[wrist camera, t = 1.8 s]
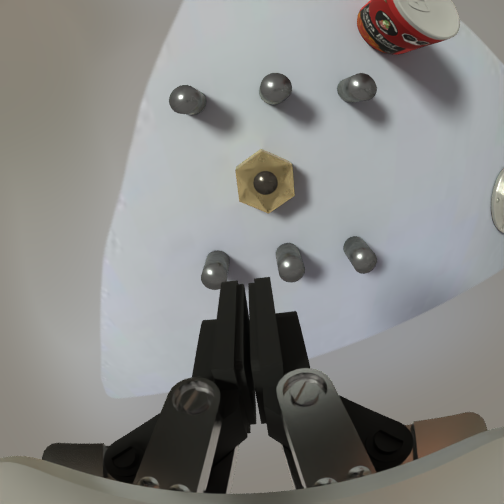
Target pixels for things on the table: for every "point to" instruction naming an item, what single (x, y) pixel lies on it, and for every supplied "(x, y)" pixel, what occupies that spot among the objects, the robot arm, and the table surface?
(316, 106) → the table surface
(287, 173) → the brass nut
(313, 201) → the table surface
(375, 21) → the canned food
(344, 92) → the posts
